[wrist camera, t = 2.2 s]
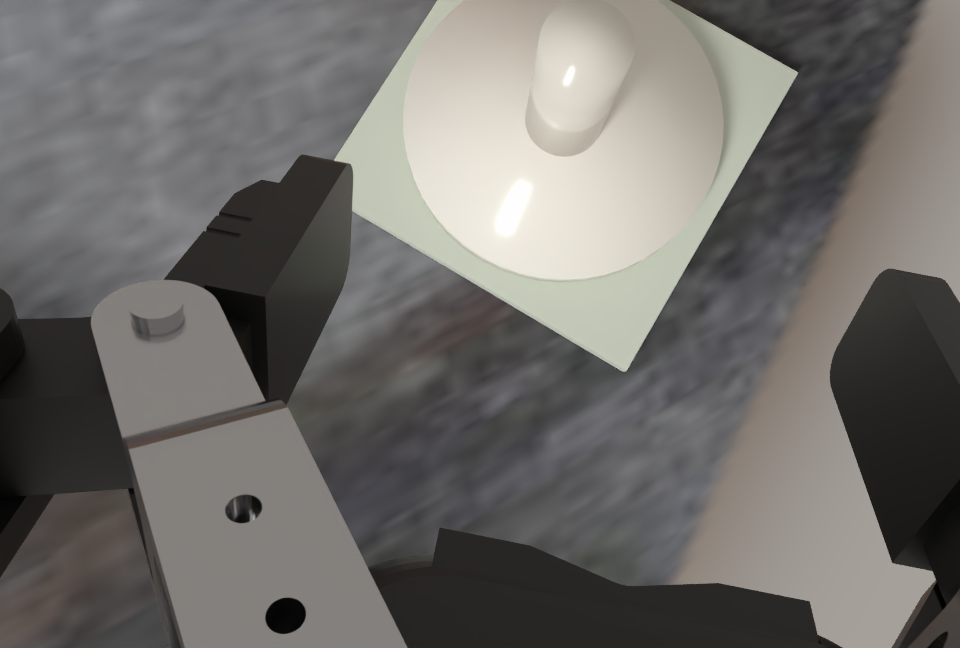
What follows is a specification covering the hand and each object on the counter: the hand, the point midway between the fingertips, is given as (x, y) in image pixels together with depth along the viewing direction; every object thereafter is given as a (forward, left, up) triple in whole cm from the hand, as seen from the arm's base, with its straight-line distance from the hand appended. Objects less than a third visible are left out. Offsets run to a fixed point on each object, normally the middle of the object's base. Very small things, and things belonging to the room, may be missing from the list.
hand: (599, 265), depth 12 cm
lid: (-4, +11, -24) cm, 27 cm away
